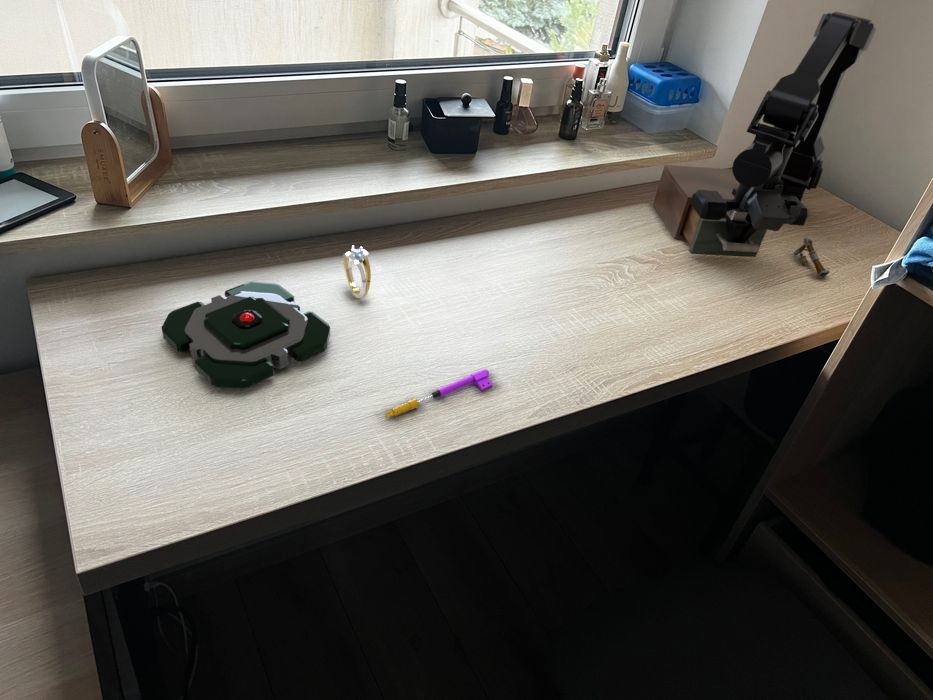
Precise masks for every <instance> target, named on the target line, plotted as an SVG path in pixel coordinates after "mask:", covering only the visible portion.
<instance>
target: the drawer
mask: <svg viewBox="0 0 933 700" xmlns="http://www.w3.org/2000/svg"><path fill="white" fill-rule="evenodd" d="M767 231H768V230H757V231H756V232H755V233H753V234H752V235H751V236H750V237H749V238H748V239H747V241H746V242H745V243H728V230H727V222H726V218H725V217H723V218H722V219H720V220H705V219H702V218H700V217H699V215H698V214H697V213H696V211H695V210H694V208H693V207H692V206H691V204H690V205H689V208H688V211H687V214H686V217H685V220H684V223H683V226H682V229H681V232H682V233H683V235H684V236H685V238H686V239H687V240H686V241H687V242H688V244H689V245H690V247H689V249H688V252H689V253H690V254H691V255H703V256H723V257H724V256H725V257H742V258H743V257H746V258H756V257H757V255H758V253H759V250H760V248H761V245H762V243H763V240H764V239H765V236H766V233H767ZM730 251H736V252H730Z"/></svg>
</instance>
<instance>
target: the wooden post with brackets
mask: <svg viewBox="0 0 933 700" xmlns="http://www.w3.org/2000/svg"><path fill="white" fill-rule="evenodd" d="M802 242H803V244H802V245H801V246H800V247H798V248H797V249H796V250H795V251H794V252H793V255H794V256H799V258H798V261H800V264H801V265H803V266H807V265H808V262H809V260H808V259H807V255H804V254H803V253H802V252H804V251H807V252H808V256H809V258H810V260H811V263H813V265H814V268H815V271H816V275H815V279H821V278H825V277H827V275H829V274H830V273H831V271H830V270H826V269H825V267H824V265H823V264H822V263H821V261H820V258H819V256H818V253H817V250H815V249H814V243H813V240H812V239H811V238H809V237H808V236H805V237H804V238H803V241H802Z"/></svg>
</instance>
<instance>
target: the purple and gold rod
mask: <svg viewBox="0 0 933 700" xmlns="http://www.w3.org/2000/svg"><path fill="white" fill-rule="evenodd" d="M489 374H490V371H489V370H488V369H481V370H478V371H476V372H474V373H471V374H469V376H466V377H464V378H461V379H459V380H457V381H454V382H452V383H449V384H447V385H445V386H442V387H440V388H437V389H436V390H434V391H433V392H431V395H429V396H427V397H424V398H422V399H420V400H418V399H417V398H412V399H410V400H407V401H406V402H405V403H403V404H400V405H398V406H395V407H393V408H391V409H390V410H388V411H387V412H385V413H384V415H385V416H386V417H387V419H389V418H391V417H396V416H398V415H401V414H403V413H405V412H408V411H413V410H414V409H417V408H419V407H420V403H422V402H424V401H426V400H428V399H431V398H433V399H437V398H440V397H443V396H446V395H448V394H450V393H452V392H454V391H457V390H459V389H461V388H464V387H466V386H468V385H469V386H470V385H471V384H472V385H473V386H477V387H478V389H479V390H480V391H481V392H482V391H486V390H488V389H490V388H492V387H493V385H494V384H493V382H492V381H491V380H490V379H489Z"/></svg>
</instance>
